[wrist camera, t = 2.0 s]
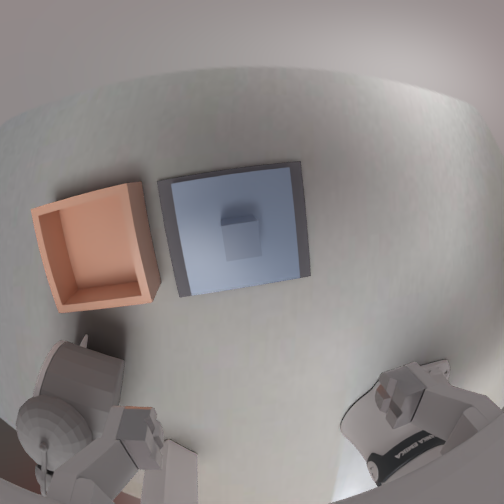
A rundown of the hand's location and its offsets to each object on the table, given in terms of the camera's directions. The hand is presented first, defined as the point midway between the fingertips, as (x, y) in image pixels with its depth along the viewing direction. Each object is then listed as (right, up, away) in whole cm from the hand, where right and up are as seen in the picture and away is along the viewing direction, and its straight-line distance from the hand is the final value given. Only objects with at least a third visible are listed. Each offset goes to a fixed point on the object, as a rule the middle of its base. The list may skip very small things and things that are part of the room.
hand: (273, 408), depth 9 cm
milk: (-14, -27, +28) cm, 41 cm away
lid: (-2, +7, +19) cm, 21 cm away
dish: (-16, +6, +18) cm, 25 cm away
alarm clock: (-20, -10, +23) cm, 32 cm away
